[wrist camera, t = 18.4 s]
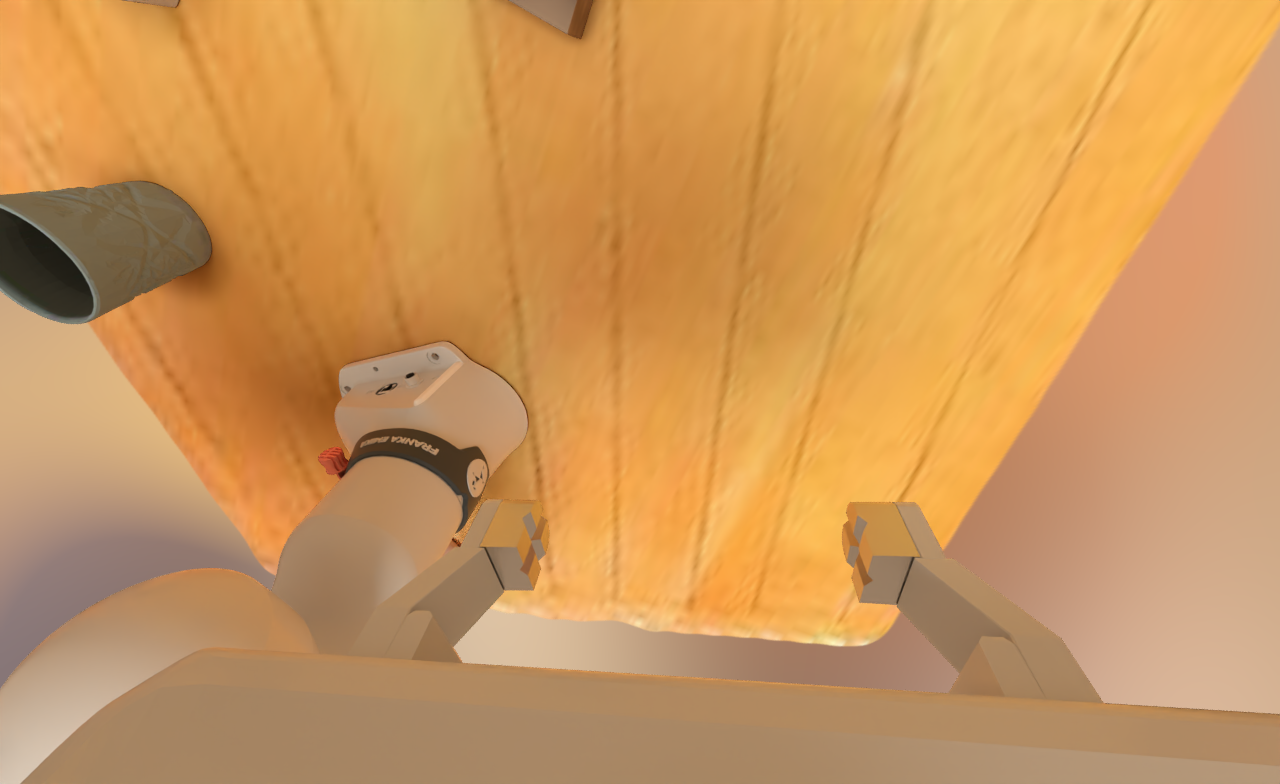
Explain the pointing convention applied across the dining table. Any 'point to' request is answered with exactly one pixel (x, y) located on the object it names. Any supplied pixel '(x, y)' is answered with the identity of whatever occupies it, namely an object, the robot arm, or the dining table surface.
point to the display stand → (560, 13)
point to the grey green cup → (95, 247)
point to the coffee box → (158, 2)
